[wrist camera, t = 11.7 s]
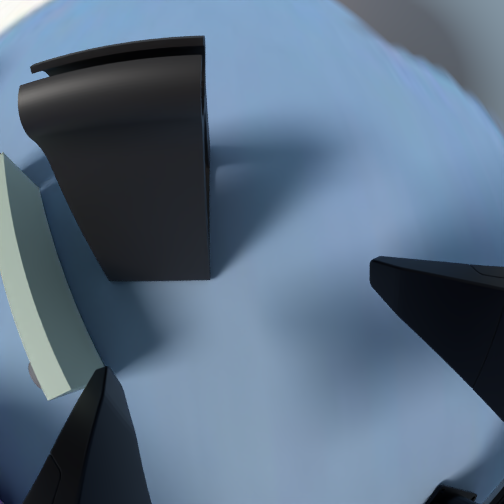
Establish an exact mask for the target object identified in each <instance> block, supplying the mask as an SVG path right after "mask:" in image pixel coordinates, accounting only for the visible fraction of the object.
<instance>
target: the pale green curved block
mask: <svg viewBox="0 0 504 504" xmlns="http://www.w3.org/2000/svg"><path fill="white" fill-rule="evenodd" d="M0 272H1V276H2V280H3V284H4V287H5V291H6V295H7V298H8V302H9V305H10V308H11V311H12V315H13V318H14V321H15V324H16V327H17V329H18V332H19V335H20V338H21V340H22V343H23V346H24V348H25V351H26V353H27V356H28V358H29V361H30V363H29V366H28V368H29V373H30V376H31V378H32V380H33V381H34V383H35V384H36V385H37V386H38V387H39V388H41V389H42V390H43V392H44V394H45V396H46V398H47V400H48V401H49V400H52V399H55V398H58V397H61V396H64V395H67V394H70V393H73V392H75V391H78V390H81V389H84V388H85V387H86V385H87V383H88V382H89V380H90V378H91V377H92V375H93V373H94V371H95V370H96V369H98V368H102V367H105V366H104V364H103V363H102V361H101V359H100V357H99V355H98V353H97V351H96V348H95V346H94V344H93V342H92V340H91V338H90V336H89V334H88V332H87V329H86V327H85V325H84V323H83V320H82V318H81V316H80V313H79V311H78V309H77V306H76V304H75V301H74V299H73V296H72V294H71V291H70V289H69V286H68V283H67V281H66V278H65V275H64V272H63V269H62V267H61V264H60V261H59V258H58V255H57V252H56V248H55V245H54V242H53V239H52V235H51V232H50V229H49V225H48V222H47V218H46V214H45V210H44V206H43V202H42V198H41V194H40V190H39V188H38V187H37V186H36V185H35V184H34V183H33V182H32V181H31V180H30V179H29V178H28V177H27V176H26V175H25V174H24V173H23V172H22V171H21V170H20V169H19V168H18V167H17V166H16V165H15V164H14V163H13V162H12V161H11V160H10V159H9V158H8V157H7V156H6V155H5V154H4V153H2V154H0Z"/></svg>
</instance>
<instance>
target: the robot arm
mask: <svg viewBox="0 0 504 504" xmlns="http://www.w3.org/2000/svg"><path fill="white" fill-rule="evenodd" d="M370 284H371V286H372V287H373V289H374V290H375V291H376V292H377V293H378V294H379V295H380V296H381V298H382V299H383V300H384V301H385V302H386V303H387V304H388V305H389V307H390V308H391V309H392V310H393V311H394V312H395V313H396V314H397V315H398V316H399V317H400V318H401V319H402V320H403V321H404V322H405V323H406V324H407V325H408V326H409V327H410V328H411V329H412V330H413V331H414V332H415V333H417V334H418V335H419V336H420V337H421V338H422V339H423V340H424V341H425V342H426V343H427V344H428V345H429V346H430V347H431V348H432V349H433V350H434V351H435V352H436V353H437V354H438V355H439V356H440V357H441V358H442V359H443V360H444V361H445V362H446V363H447V364H448V365H449V366H450V367H451V368H452V369H453V370H454V371H455V372H456V373H457V374H458V375H459V376H460V377H461V378H462V379H463V380H464V381H465V382H466V383H467V384H468V385H469V386H470V387H471V388H473V390H474V391H475V392H476V393H477V394H478V395H479V396H480V397H481V398H482V399H483V400H484V402H485V403H486V404H487V405H488V406H489V407H490V408H491V409H492V410H493V411H494V412H495V413H496V414H497V415H498V416H499V418H500V419H501V420H502V421H503V422H504V267H497V266H482V265H471V264H470V265H469V264H461V263H450V262H439V261H429V260H418V259H407V258H396V257H385V256H379V257H377V258H375V259H373V260H371V261H370ZM50 454H51V455H50ZM50 454H49V455H48V457H47V460H46V462H45V464H44V466H43V467H42V469H41V471H40V473H39V475H38V477H37V479H36V481H35V482H34V484H33V486H32V488H31V490H30V491H29V493H28V495H27V496H26V498H25V500H24V502H23V503H22V504H152V503H151V500H150V496H149V492H148V488H147V484H146V480H145V476H144V472H143V467H142V462H141V458H140V453H139V448H138V443H137V438H136V433H135V430H134V426H133V423H132V419H131V416H130V412H129V409H128V405H127V401H126V398H125V394H124V390H123V388H122V385H121V384H120V382H119V381H118V379H117V378H116V376H115V375H114V373H113V372H112V370H111V369H110V368H109V367H108V366H105V367H102V368H98V369H96V370H95V371H94V373H93V375H92V377H91V378H90V380H89V382H88V383H87V385H86V387H85V389H84V390H83V392H82V394H81V396H80V397H79V399H78V401H77V403H76V405H75V406H74V408H73V410H72V412H71V414H70V415H69V417H68V419H67V421H66V423H65V425H64V427H63V428H62V430H61V432H60V434H59V436H58V438H57V440H56V442H55V444H54V446H53V448H52V450H51V452H50ZM476 497H477V494H475V493H472V492H468V491H464V490H460V489H457V488H453V487H449V486H446V485H440V486H439V487H437V489H436V490H435V491H434V493H433V494H432V496H431V497H430V499H429V500H428V501H427V503H426V504H478V503H476V502H474V501H475V499H476ZM482 504H504V479H503V480H502V482H501V483H500V484H499V485H498V486H497V488H496V489H495V490H494V491H493V492H492V493H491V494H490V496H489V497H488V498H487V499H486V500H485V501H484V502H483V503H482Z"/></svg>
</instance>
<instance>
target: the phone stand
mask: <svg viewBox="0 0 504 504" xmlns="http://www.w3.org/2000/svg"><path fill="white" fill-rule="evenodd" d="M30 68H31V72H32V74H33V73H36V72H39V71H44V72H46V73H47V74H48V75H49V76H50V77H47V78H43V79H40V80H37V81H33V82H30V83H27V84H24V85H21V86H20V88H19V94H18V111H19V116H20V120H21V124H22V126H23V128H24V130H25V132H26V134H27V135H28V136H29V137H30V138H31V139H32V140H33V141H35V142H36V143H37V144H38V145H39V147H40V148H41V149H42V150H43V152H44V153H45V155H46V157H47V159H48V161H49V163H50V165H51V167H52V170H53V172H54V174H55V177H56V179H57V181H58V183H59V186H60V188H61V190H62V192H63V195H64V197H65V199H66V201H67V203H68V205H69V207H70V209H71V211H72V213H73V215H74V217H75V219H76V221H77V223H78V225H79V227H80V229H81V231H82V233H83V235H84V237H85V239H86V241H87V243H88V244H89V246H90V248H91V250H92V252H93V254H94V255H95V257H96V259H97V261H98V262H99V264H100V266H101V268H102V269H103V271H104V273H105V275H106V276H107V278H108V280H109V281H184V280H210V236H209V175H210V140H209V126H208V112H207V98H206V76H205V36H184V37H169V38H158V39H149V40H140V41H133V42H126V43H120V44H114V45H108V46H103V47H98V48H93V49H88V50H84V51H79V52H75V53H71V54H67V55H63V56H60V57H56V58H52V59H49V60H46V61H42V62H39V63H36V64H34V65H32V66H31V67H30Z"/></svg>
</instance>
